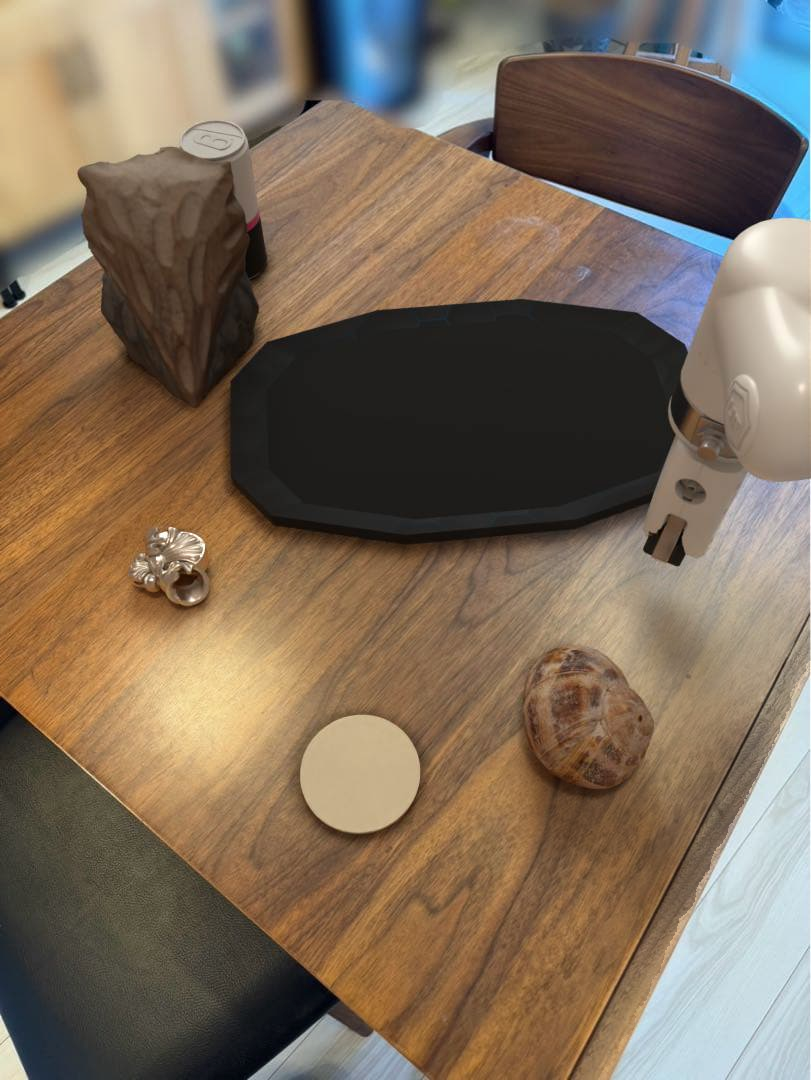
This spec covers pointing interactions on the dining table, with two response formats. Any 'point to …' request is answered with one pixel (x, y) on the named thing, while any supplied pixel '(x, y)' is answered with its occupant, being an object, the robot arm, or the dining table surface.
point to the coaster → (360, 774)
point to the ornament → (172, 565)
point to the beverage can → (232, 146)
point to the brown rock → (172, 265)
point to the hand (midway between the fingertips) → (663, 552)
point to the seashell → (585, 718)
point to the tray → (456, 420)
